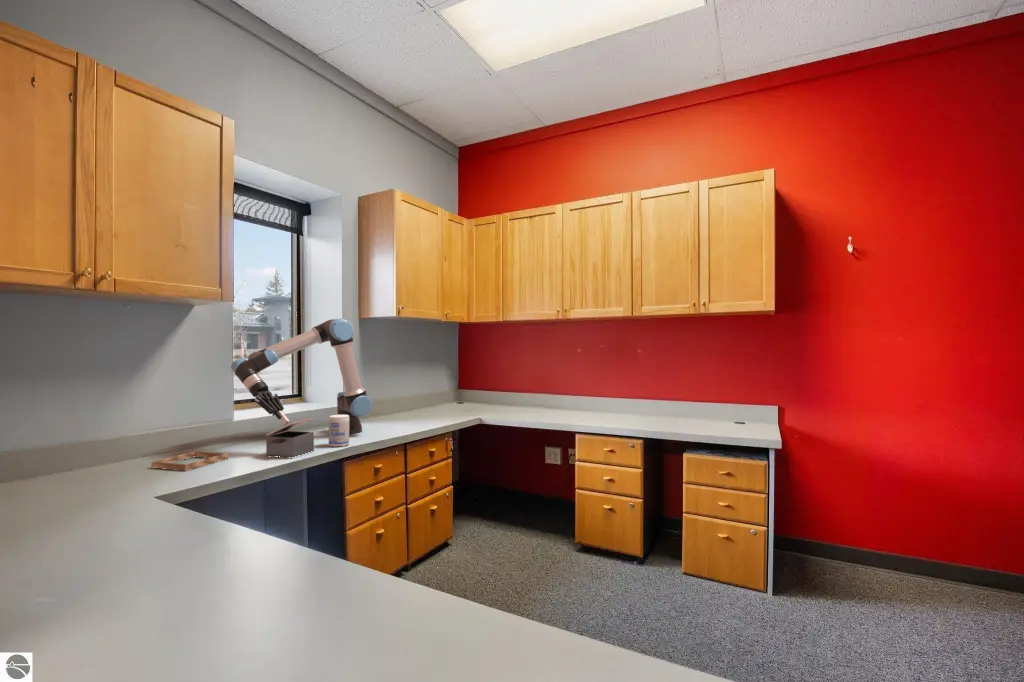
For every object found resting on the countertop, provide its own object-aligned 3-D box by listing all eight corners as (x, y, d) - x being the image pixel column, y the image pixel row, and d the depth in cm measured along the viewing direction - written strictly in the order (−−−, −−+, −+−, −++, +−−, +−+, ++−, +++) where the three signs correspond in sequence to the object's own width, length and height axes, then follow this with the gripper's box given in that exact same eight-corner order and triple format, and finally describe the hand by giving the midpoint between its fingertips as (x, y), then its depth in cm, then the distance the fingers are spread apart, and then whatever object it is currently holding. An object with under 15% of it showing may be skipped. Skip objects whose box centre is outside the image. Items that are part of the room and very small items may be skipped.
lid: (287, 430, 229) (286, 427, 229) (312, 419, 225) (311, 416, 225) (265, 436, 215) (264, 433, 215) (291, 424, 212) (290, 420, 212)
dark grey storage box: (291, 448, 231) (291, 429, 231) (317, 450, 227) (316, 431, 227) (262, 457, 213) (262, 437, 213) (289, 459, 209) (289, 439, 209)
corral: (195, 456, 215) (195, 451, 215) (227, 459, 210) (227, 453, 210) (151, 468, 196) (151, 462, 196) (186, 471, 191) (186, 464, 191)
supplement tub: (330, 448, 231) (329, 417, 231) (327, 444, 239) (327, 415, 239) (351, 446, 236) (350, 416, 236) (347, 442, 244) (347, 413, 244)
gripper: (262, 390, 232) (291, 426, 227) (240, 393, 219) (271, 431, 215) (271, 379, 230) (301, 415, 226) (250, 381, 218) (281, 419, 213)
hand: (286, 423), depth 220 cm, fingers closed
